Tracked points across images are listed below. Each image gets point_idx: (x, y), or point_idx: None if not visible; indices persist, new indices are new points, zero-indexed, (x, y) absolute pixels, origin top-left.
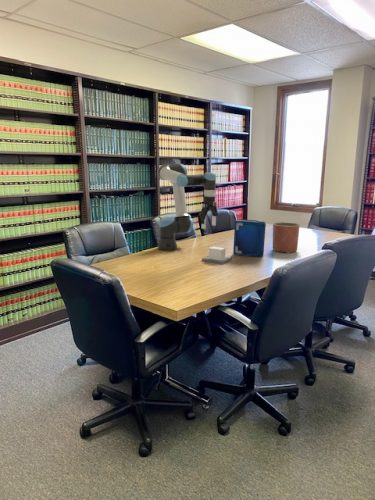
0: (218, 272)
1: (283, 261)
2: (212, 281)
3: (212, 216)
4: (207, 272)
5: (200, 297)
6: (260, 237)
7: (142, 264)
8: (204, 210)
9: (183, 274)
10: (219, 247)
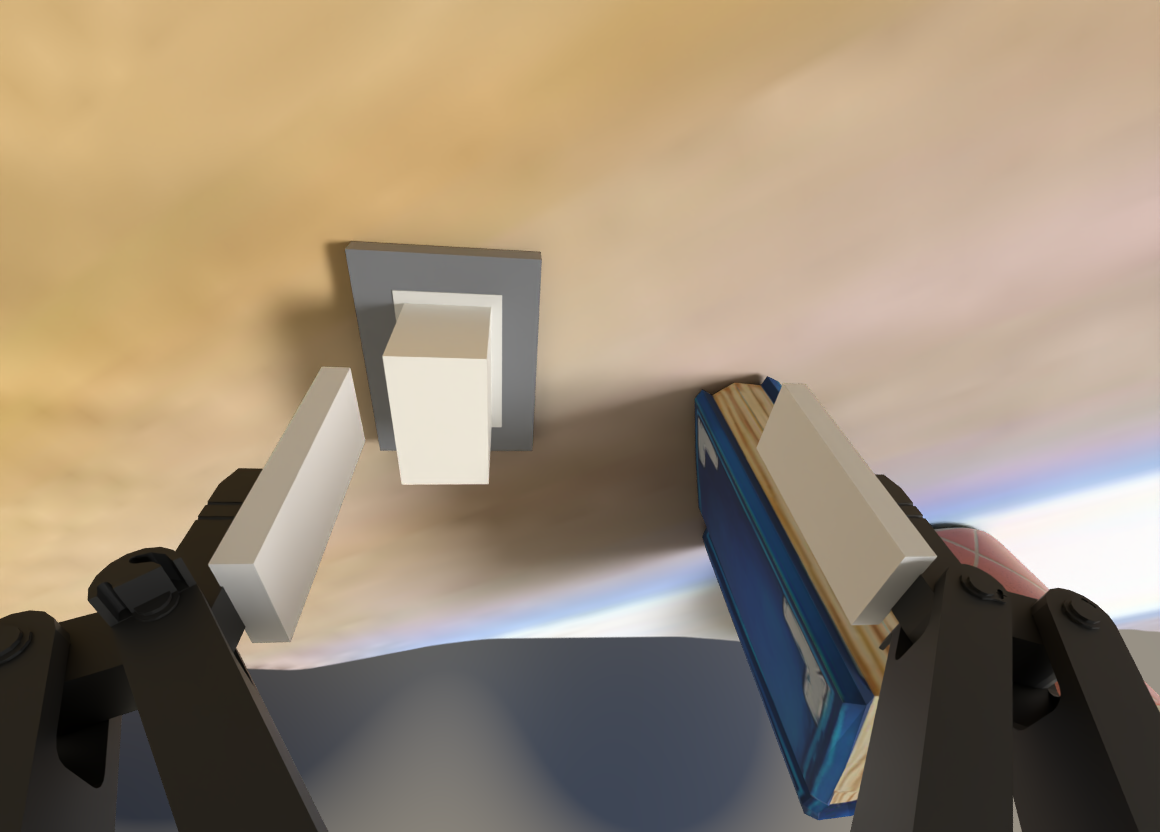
0: (177, 500)
1: (651, 631)
2: None
3: (890, 557)
4: (100, 449)
5: None
6: (750, 666)
7: None
8: None
9: None
10: (483, 433)
